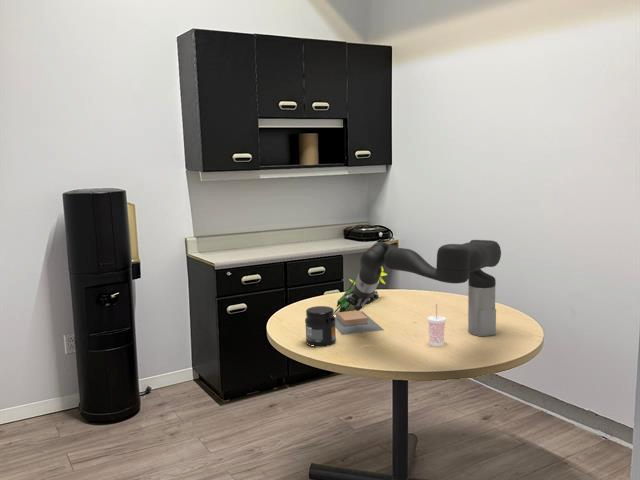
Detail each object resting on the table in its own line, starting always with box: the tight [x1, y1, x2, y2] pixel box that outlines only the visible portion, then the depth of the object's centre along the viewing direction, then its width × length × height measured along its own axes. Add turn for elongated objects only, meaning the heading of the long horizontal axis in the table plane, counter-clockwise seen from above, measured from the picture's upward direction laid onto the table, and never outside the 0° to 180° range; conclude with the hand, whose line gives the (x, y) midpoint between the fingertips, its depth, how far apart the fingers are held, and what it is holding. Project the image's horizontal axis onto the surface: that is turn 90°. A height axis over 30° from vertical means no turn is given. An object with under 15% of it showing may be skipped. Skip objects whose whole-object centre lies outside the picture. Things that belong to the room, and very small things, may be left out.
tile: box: [336, 310, 368, 327], centre depth 228 cm, size 2×9×11 cm
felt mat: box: [334, 310, 385, 336], centre depth 227 cm, size 26×16×1 cm, turn 14°
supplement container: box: [304, 305, 337, 347], centre depth 205 cm, size 10×10×12 cm
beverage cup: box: [427, 303, 447, 347], centre depth 199 cm, size 6×6×14 cm
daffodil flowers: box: [334, 265, 388, 314], centre depth 251 cm, size 17×15×35 cm
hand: (357, 308), depth 220 cm, fingers closed
